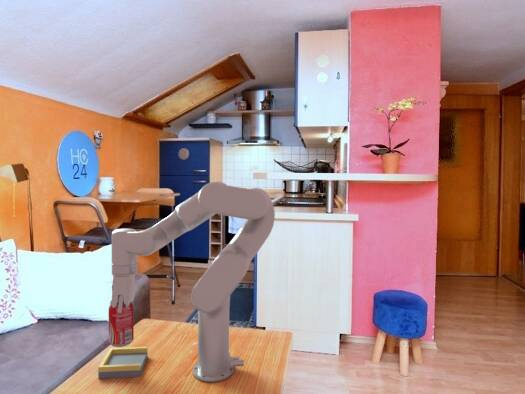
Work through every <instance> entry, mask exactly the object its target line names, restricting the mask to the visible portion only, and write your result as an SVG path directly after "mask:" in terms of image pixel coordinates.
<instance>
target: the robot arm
mask: <svg viewBox="0 0 525 394" xmlns="http://www.w3.org/2000/svg"><path fill="white" fill-rule="evenodd" d="M275 211H276V210H275V207H274V203H273V201H272V199H271V197H270V195H269V193H267V192H266V191H265V190H264V189H262V188H259V187H258V188H257V187H253V188H246V187H239V186H232V185H228V184H226V183H225V182H222V181H212V182H209V183H206V184H204V185H203V186H202V187H201V189H200V190H199V191H197V192H196V193H195V194H194V195H192V196H190V197H189V198H187V199H185V200H184V201H183V202H180V203H179V204H178V205H177V206H175V209H174V210H173V211H172V212H171V213H170V214H169V215H168V216H167V217H165V218H163V219H162V220H160V221H159V222H158V223H156V224H153V226H151V227H149V228H146V229H144V230H141V231H137V230H136V229H134V228H126V227H125V228H123V227H122V228H117V229H116V228H115V229H114V230H113V231H112V232H111V275H112V276H113V280H112V281H113V282H112V292H111V293H112V294H111V295H112V296H111V301H112V308H115V307H116V305H117V303H118V314H123V304H126V306H125V307H126V308H127V307H129V304H130V302H131V303H132V304H133V301H134V300H135V296H136V279H135V275H137V274H138V267H139V266H138V263H139V261H138V256H142V257H143V256H144V257H145V256H146V257H147V256H150V255H152V254H154V253H155V252H157V251H158V250H161V249H162V248H164V247H165V246H167V245H168V244H169V243H171V242H173V241H174V240H176V239H177V238H179V237H181V236H182V235H183V234H186V233H187V232H190V231H192V230H194V229H195V228H197V227H199V226H200V225H201V224H203V223H204V222H206V221H208V220H209V219H210V218H212V217H214V216H215V215H221V216H226V217H232V218H238V219H243V220H244V222H243V224H242V225H241V226H240V228H239V230H237V232H236V234H235V235H234V236H233V238H232V239H231V240H230V241H229V243H228V244H227V245H226V246H225V247H224V248H222V249H221V250H220V252H219V253H218V254H217V256H216V257H215V258H214V260H212V262H211V263H210V265H208V267H207V269H206V270H205V271H204V273H203V274H202V275H201V277H200V278H199V279H198V281H197V282H196V283H195V285H193V288H192V290H191V292H190V295H191V296H190V298H191V299H190V300H191V303H192V305H193V307H194V308H195V310H197V311H198V312H197V316H198V317H197V320H198V321H197V362H196V363H195V364H194V365H193V367H192V373H193V376H194V377H195V378H196V379H198V380H200V381H203V382H207V383H208V382H209V383H212V382H213V383H216V382H220V381H224V380H226V379H228V378H230V376H232V375H233V374H234V371H235V370H234V369H235V368H234V367H244V365H245V364H244V363H245V362H244V359H240V356H232V355H231V352H230V306H231V295H232V293H233V292H234V291H235V290H236V288H237V287H238V285H239V284H240V283H241V281H242V280H243V279H244V277H245V275H246V274H247V272H248V270H249V266H250V264H251V262H252V261H253V259H254V258H255V256H256V255H257V254H258V253H259V251H260V250H261V248H262V247H263V245H264V244H265V242H266V241H267V239H268V238H269V236H270V235H271V232H272V230H273V228H274V225H275V219H276V218H275V216H276V215H275V214H276V213H275Z"/></svg>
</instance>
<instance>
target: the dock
mask: <svg viewBox="0 0 525 394" xmlns="http://www.w3.org/2000/svg"><path fill="white" fill-rule="evenodd" d="M148 353H149V351H148V346H137V347H136V346H134V347H131V346H130V347H128V346H127V347H111V348H109V349H108V351H107V352H106V354H105V355H104V357H103V359H102V361H101V362H100V364H99V365H98V366H97V367H98V368H97V369H98V373H97V374H98V376H97V377H98V379H100V380H101V379H115V378H116V379H118V378H119V379H120V378H132V377H133V378H139V377H141V375H142V373H143V370H144V367H145V365H146V361H147V359H148Z"/></svg>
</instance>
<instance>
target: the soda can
mask: <svg viewBox="0 0 525 394" xmlns="http://www.w3.org/2000/svg"><path fill="white" fill-rule="evenodd" d="M125 306H126V304H123V314H118V303H117V305H116V307H115V308H112V300H111V301H110V302H109V306H108V342H109V345H111V346H112V347H113V348H124V347H126V346H127V347H128V345H130V344H131V343H132V342H133V341H134V338H135V336H134V330H135V329H134V304H133V302H132V303H131V302H130V304H129V307H127V308H126V307H125Z"/></svg>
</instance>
